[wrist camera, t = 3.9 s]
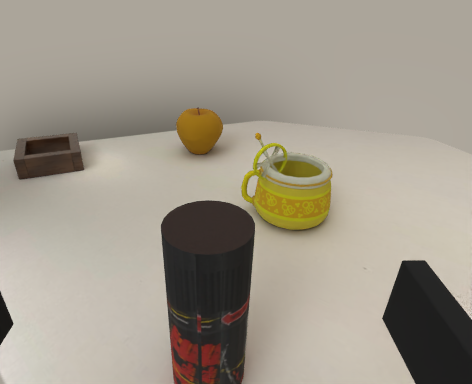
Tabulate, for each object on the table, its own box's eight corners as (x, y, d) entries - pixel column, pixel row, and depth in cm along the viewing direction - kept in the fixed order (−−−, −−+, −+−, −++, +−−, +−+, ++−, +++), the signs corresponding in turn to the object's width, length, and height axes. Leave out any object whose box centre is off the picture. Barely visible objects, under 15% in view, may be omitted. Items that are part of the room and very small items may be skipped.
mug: (324, 199, 55) (338, 127, 49) (329, 240, 46) (347, 157, 40) (245, 190, 57) (249, 119, 51) (234, 228, 47) (237, 146, 41)
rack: (19, 179, 57) (13, 160, 55) (22, 156, 65) (17, 139, 63) (84, 170, 61) (80, 151, 59) (79, 149, 69) (76, 132, 67)
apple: (224, 144, 74) (225, 102, 70) (220, 161, 66) (220, 116, 62) (182, 142, 74) (180, 100, 70) (173, 159, 66) (170, 113, 62)
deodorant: (167, 350, 31) (154, 207, 23) (230, 332, 33) (236, 195, 25) (181, 416, 26) (170, 263, 19) (254, 391, 28) (270, 243, 20)
